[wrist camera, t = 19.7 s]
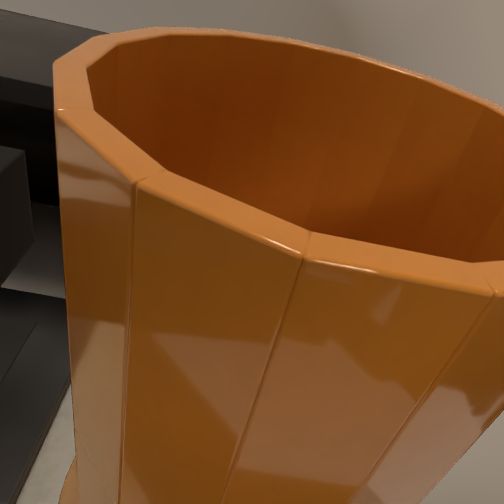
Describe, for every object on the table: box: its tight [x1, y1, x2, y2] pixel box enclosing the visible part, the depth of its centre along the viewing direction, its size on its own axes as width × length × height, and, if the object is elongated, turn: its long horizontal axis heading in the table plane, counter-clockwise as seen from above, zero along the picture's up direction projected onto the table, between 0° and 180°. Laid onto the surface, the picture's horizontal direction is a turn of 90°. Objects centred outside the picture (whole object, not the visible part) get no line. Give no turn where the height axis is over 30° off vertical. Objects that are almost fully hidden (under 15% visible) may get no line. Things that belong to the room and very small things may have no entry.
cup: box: [52, 27, 504, 504], centre depth 10 cm, size 8×8×12 cm
